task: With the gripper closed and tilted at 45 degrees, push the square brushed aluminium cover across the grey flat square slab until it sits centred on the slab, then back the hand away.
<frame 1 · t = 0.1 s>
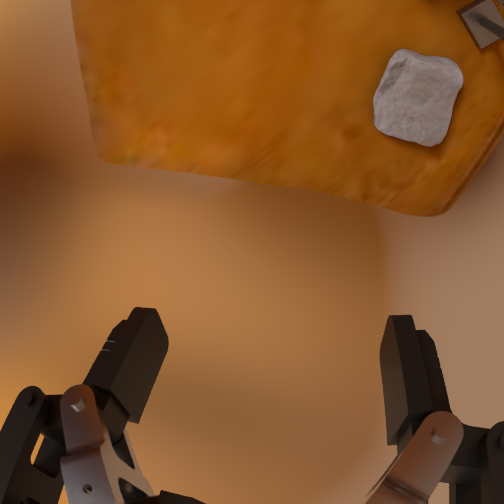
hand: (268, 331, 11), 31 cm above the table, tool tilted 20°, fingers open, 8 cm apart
dial indicator stand: (481, 20, 21), on the table
stone block: (409, 90, 32), on the table
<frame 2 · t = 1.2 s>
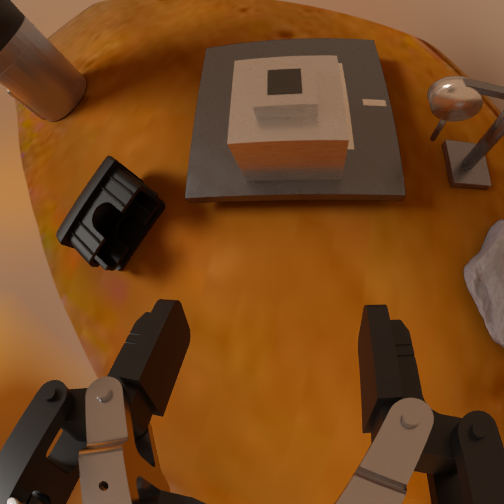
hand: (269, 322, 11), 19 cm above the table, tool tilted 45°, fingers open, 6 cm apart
cover: (293, 139, 28), point 4 cm above the table, touching grey flat square slab
grey flat square slab: (292, 106, 30), point 3 cm above the table, hinge at 0.0°, touching cover
dial indicator stand: (464, 167, 28), on the table
stone block: (501, 292, 26), on the table
end cap: (124, 222, 34), on the table
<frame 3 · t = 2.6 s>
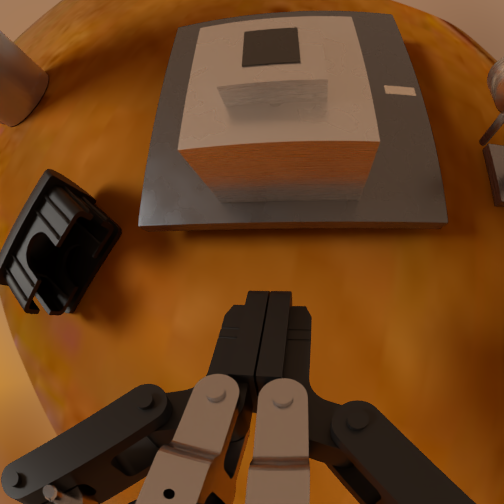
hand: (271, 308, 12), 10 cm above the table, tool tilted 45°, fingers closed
cover: (288, 140, 20), point 4 cm above the table, touching grey flat square slab
grey flat square slab: (288, 94, 21), point 3 cm above the table, hinge at 0.0°, touching cover
end cap: (76, 252, 26), on the table
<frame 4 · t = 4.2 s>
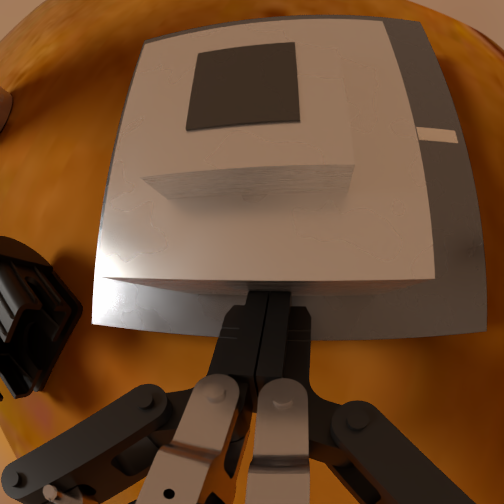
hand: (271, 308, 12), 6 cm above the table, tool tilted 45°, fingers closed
cover: (282, 203, 15), point 4 cm above the table
grey flat square slab: (283, 139, 16), point 3 cm above the table, hinge at 0.0°
end cap: (38, 323, 21), on the table
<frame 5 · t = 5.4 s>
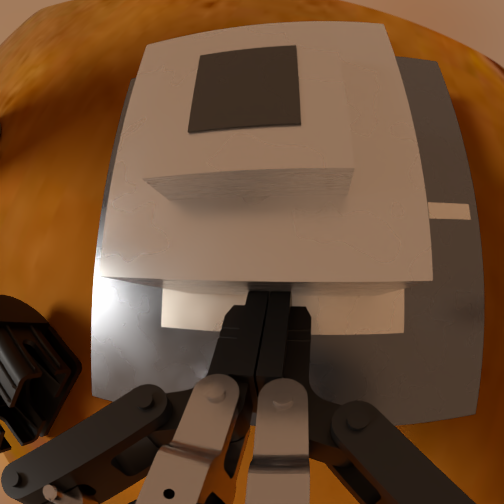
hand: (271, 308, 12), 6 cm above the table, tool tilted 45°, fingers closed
cover: (282, 203, 15), point 4 cm above the table, touching gripper, grey flat square slab
grey flat square slab: (282, 214, 15), point 3 cm above the table, hinge at 0.0°, touching cover
end cap: (39, 372, 20), on the table
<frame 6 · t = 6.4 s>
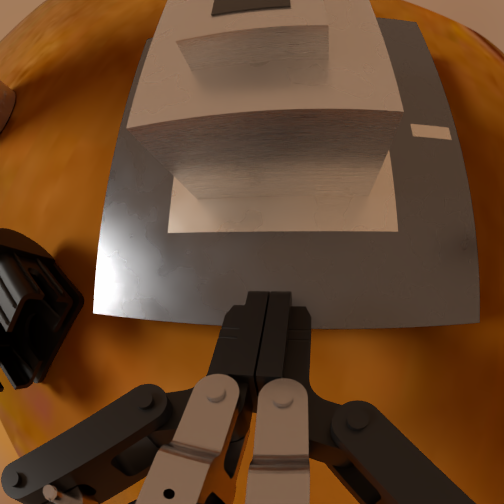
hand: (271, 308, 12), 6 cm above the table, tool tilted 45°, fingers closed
cover: (281, 122, 16), point 4 cm above the table, touching grey flat square slab
grey flat square slab: (281, 135, 17), point 3 cm above the table, hinge at 0.0°, touching cover
end cap: (39, 315, 21), on the table
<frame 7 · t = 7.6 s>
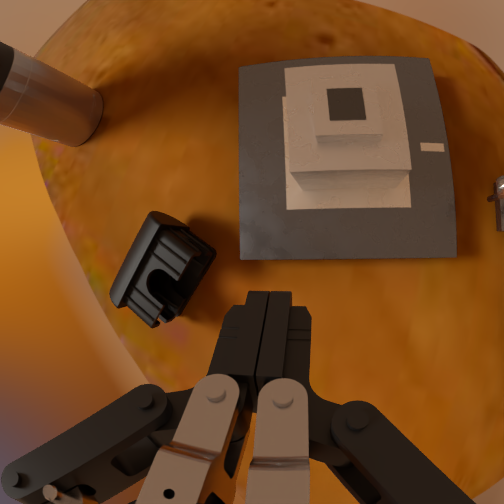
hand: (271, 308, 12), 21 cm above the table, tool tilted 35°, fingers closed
cover: (346, 143, 27), point 4 cm above the table, touching grey flat square slab
grey flat square slab: (345, 149, 28), point 3 cm above the table, hinge at 0.0°, touching cover
end cap: (175, 267, 36), on the table
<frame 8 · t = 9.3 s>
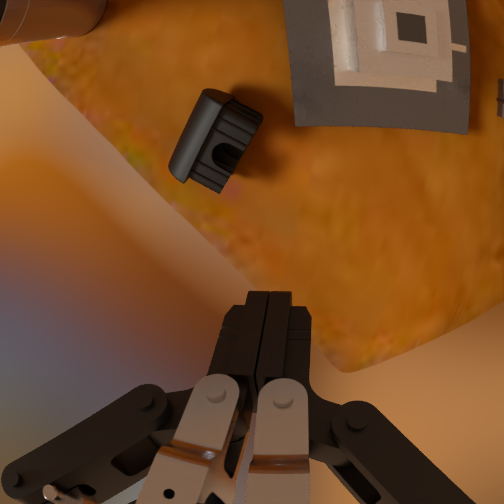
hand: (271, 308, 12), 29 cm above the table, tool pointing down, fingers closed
cover: (386, 34, 24), point 4 cm above the table, touching grey flat square slab
grey flat square slab: (383, 37, 25), point 3 cm above the table, hinge at 0.0°, touching cover
end cap: (221, 132, 37), on the table
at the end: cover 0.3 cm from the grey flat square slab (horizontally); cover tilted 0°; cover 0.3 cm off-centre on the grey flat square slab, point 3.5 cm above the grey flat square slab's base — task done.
